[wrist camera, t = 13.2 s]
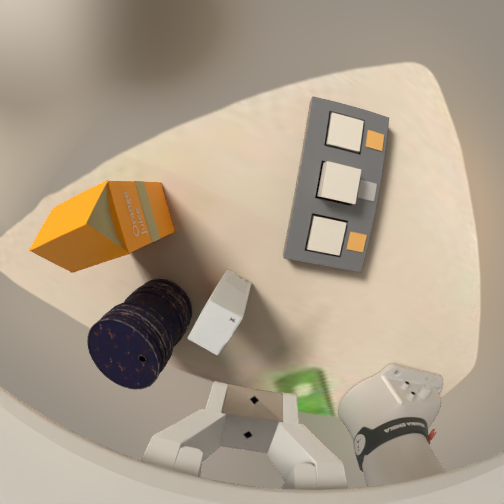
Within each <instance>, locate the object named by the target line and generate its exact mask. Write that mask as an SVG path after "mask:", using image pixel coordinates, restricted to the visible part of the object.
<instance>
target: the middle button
mask: <svg viewBox="0 0 504 504" xmlns="http://www.w3.org/2000/svg"><path fill="white" fill-rule="evenodd" d="M360 175H361V169H357V168H353V167H349V166H345V165H341V164H337V163H333V162H329V161H327V162H325V163H323V168H322V173H321V179H320V185H319V190H318V195H317V196H319V197H324V198H328V199H333V200H337V201H342V202H346V203H351V204H355V203H356V197H357V192H358V186H359V181H360Z"/></svg>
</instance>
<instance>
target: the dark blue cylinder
mask: <svg viewBox="0 0 504 504" xmlns="http://www.w3.org/2000/svg"><path fill="white" fill-rule="evenodd" d="M191 318H192V306H191V302H190V300H189V298H188V296H187V294H186V293H185V292H184V291H183V290H182V289H181V288H180V287H179V286H178V285H177V284H175V283H173V282H171V281H168V280H164V279H154V280H151V281H148V282H146V283H145V284H144V285H143V286H141V287H139V288H138V289H136V290H135V291H134V292H133V293H132V294H131V295H130V296H128V298H127V299H126V300H125V302H124V303H121V304H119V305H117V306H115V307H114V308H112V309H111V310H110V311H109V312H107V313H106V314H105V315H104V316H103V317H102V318H101V319H100V320H99V321H98V322H97V323H95V324H94V325H93V326H92V327H91V329H90V331H89V333H88V341H87V342H88V349H89V353H90V355H91V357H92V360H93V361H94V363H95V365H96V366H97V367H98V368H99V370H100V371H101V372H102V373H103V374H104V375H105V376H106V377H107V378H109V379H110V380H111V381H113V382H114V383H116V384H118V385H121V386H122V387H125V388H129V389H144V388H147V387H149V386H151V385H152V384H153V383H154V382H155V381H156V379H157V377H158V376H159V374H160V372H161V371H162V370H163V369H164V367H165V366H166V364H167V362H168V360H169V359H170V357H171V355H172V351H173V347H174V346H175V345H176V344H177V343H178V342H179V341H180V340H181V338H182V336H183V335H184V333H185V331H186V329H187V327H188V325H189V323H190V321H191Z"/></svg>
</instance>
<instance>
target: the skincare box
mask: <svg viewBox="0 0 504 504" xmlns="http://www.w3.org/2000/svg"><path fill="white" fill-rule="evenodd" d="M251 285H252V283H251V282H249V281H248V280H246V279H244V278H242V277H241V276H239V275H237V274H236V273H234V272H232V271H231V270H229V269H227V270H226V271H225V273H224V275H223V276H222V278H221V280H220V281H219V283H218V284H217V286H216V288H215V289H214V291H213V293H212V294H211V296H210V298H209V299H208V301H207V303H206V305H205V306H204V308H203V310H202V312H201V314H200V315H199V317H198V319H197V321H196V323H195V325H194V327H193V328H192V330H191V332H190V334H189V336H188V339H189V340H191V341H192V342H194V343H196V344H198V345H199V346H201V347H203V348H204V349H206V350H208V351H210V352H211V353H213V354H215V355H217V356H218V355H219V354H220V352H221V351H222V349H223V348H224V346H225V345H226V343H227V342H228V341H229V340H230V338H231V337H232V335H233V333H234V332H235V330H236V329H237V327H238V326H239V324H240V323H241V321H242V319H243V317H244V314H245V309H246V305H247V301H248V297H249V293H250V289H251Z"/></svg>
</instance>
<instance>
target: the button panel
mask: <svg viewBox="0 0 504 504" xmlns="http://www.w3.org/2000/svg"><path fill="white" fill-rule="evenodd" d="M331 113H336V114H340V115H344V116H348V117H351V118H355V119H359V120H362V121H364V122H363V130H362V137H361V145H360V151H359V152H358V153H352V152H348V151H344V150H340V149H336V148H332V147H328V146H324V144H325V138H326V131H327V125H328V118H329V116H330V114H331ZM388 124H389V118H388V117H385V116H382V115H379V114H376V113H373V112H370V111H367V110H363V109H360V108H356V107H353V106H349V105H345V104H342V103H338V102H334V101H330V100H326V99H321V98H317V97H312V99H311V101H310V106H309V112H308V118H307V124H306V131H305V137H304V143H303V149H302V154H301V160H300V166H299V172H298V177H297V183H296V188H295V194H294V199H293V204H292V210H291V215H290V220H289V225H288V231H287V236H286V241H285V246H284V251H283V258H285V259H290V260H296V261H301V262H307V263H312V264H318V265H323V266H328V267H334V268H339V269H345V270H350V271H356V272H361V271H362V267H363V263H364V259H365V255H366V251H367V247H368V243H369V238H370V234H371V229H372V225H373V220H374V215H375V210H376V205H377V200H378V194H379V189H380V183H381V177H382V171H383V164H384V157H385V150H386V142H387V134H388ZM327 161H329V162H333V163H337V164H341V165H345V166H349V167H353V168H357V169H361V175H360V181H359V186H358V192H357V197H356V203H355V204H351V203H347V205H345V204H340V203H336V202H331V201H327V200H322V199H318V198H315V196H316V190H317V185H318V179H319V174H320V168H321V163H325V162H327ZM312 213H314V214H319V215H323V216H328V217H333V218H337V219H342V220H344V221H343V222H345V223H347V224H346V228H345V233H344V237H343V242H342V246H341V251H340V255H334V254H329V253H323V252H318V251H313V250H308V249H307V248H305V246H306V241H307V236H308V231H309V226H310V222H311V216H312Z"/></svg>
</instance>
